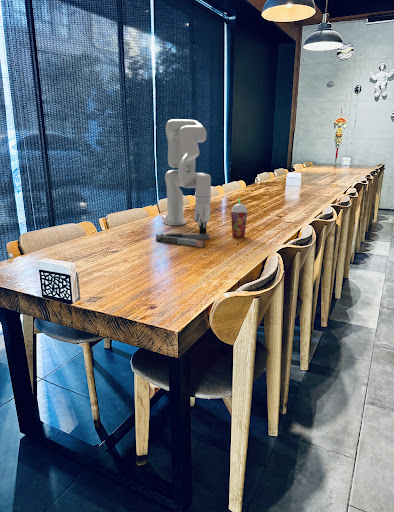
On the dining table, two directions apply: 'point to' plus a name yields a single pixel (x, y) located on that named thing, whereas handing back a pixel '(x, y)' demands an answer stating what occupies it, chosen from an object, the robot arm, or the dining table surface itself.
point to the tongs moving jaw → (184, 236)
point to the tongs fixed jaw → (183, 241)
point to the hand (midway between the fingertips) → (202, 235)
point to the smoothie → (238, 220)
